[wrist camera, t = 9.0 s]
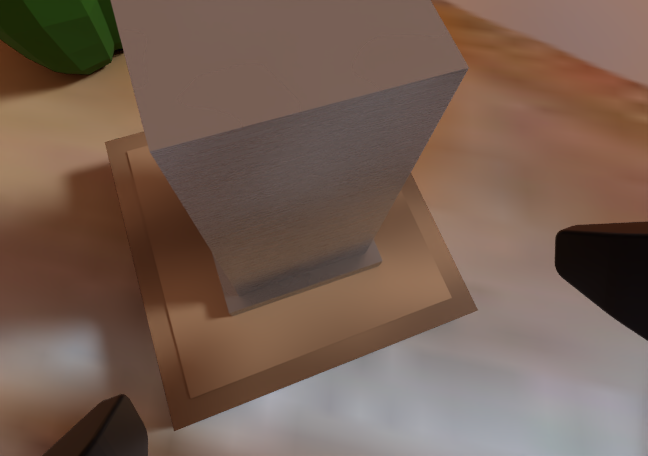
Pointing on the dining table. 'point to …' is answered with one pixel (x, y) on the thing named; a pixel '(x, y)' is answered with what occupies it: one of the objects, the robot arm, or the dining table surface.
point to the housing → (287, 125)
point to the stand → (278, 317)
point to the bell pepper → (61, 33)
